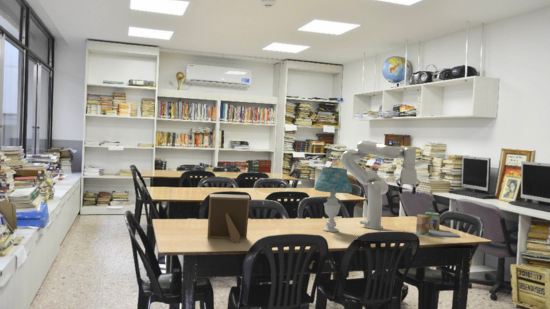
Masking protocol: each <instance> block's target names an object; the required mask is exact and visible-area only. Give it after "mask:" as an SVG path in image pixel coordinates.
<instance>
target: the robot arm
mask: <svg viewBox="0 0 550 309" xmlns="http://www.w3.org/2000/svg"><path fill="white" fill-rule="evenodd" d="M369 155H372V156H373V155H374V156H378V157H385V158H391V159H403V161H402V164H401V165H400V167H401V171H400V174H399V177H398V178H396V179H395V180H394V181H395V183H396V185H397V186H398V193H399V194H403V186H404V185H412V190H411V191H412V192H411V193H412V194H413V195H415V194H416V193H417V191H416V190H417V188H418V187H419V185H420V184H421V180H419V179H418V173H417V169H416V159H417V157H416V156H417V150H416V148H414V147H403V146H393V145H385V144H382V143H381V142H374V141H370V140H360V141H359V142H358V143H357V145H356V148H355V149H348V150H346V151H344V152H343V153H342V155H341V164H342V165H343V168H344V169H347V172H348V173H349V174H350V175H352V177H353V178H355V179H356V180H357V181H358V182H359V184H361V185H366V186H367V212H366V213H367V214H366V216H367V217H366V219H365V220H364V221H363V220H359V224H360V225H363V227H364V228H366V229H371V230H382V229H384V226H383V225H382V215H383V214H382V213H383V197H382V196H383V195H385V194H387V192H388V191H389V185H388V183H387V181H385V180H384V179H383V178H382V177H380V175H379V174H377V173H376V172H375V171H372V170H366V169H365V168H363V167H362V165H360V164H358V162H360V161H362V160H363V159H365V158H366V157H367V156H369Z"/></svg>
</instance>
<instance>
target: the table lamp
mask: <svg viewBox="0 0 550 309" xmlns="http://www.w3.org/2000/svg"><path fill="white" fill-rule="evenodd" d="M314 190H315V191H318V192H323V193H330V196H329V197H327V198H326V200H327V201H326V202H324V203H323V206H324V213H325V215H326V216H327V217H328V220H326V223H325V225H326V227H323V228H322V230H323V231H325V232H329V233H330V232H331V233H338V232H339V231H340V230H339V229H338V228H336V226H337V222H336V221H335V217H336V216H338V215H339V213H340V208H341V206H342V204H341V203H339V198H338V197H337V196H336V194H349V193H350V194H351V193H352V192H353V188H352V184H351V182H350V179H349V177H348V171H347V169H345V168H344V167H343V168H341V167H327V166H326V167H322V168H321V173H320V176H319V177H318V179H317V181H316V182H315V185H314Z"/></svg>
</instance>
